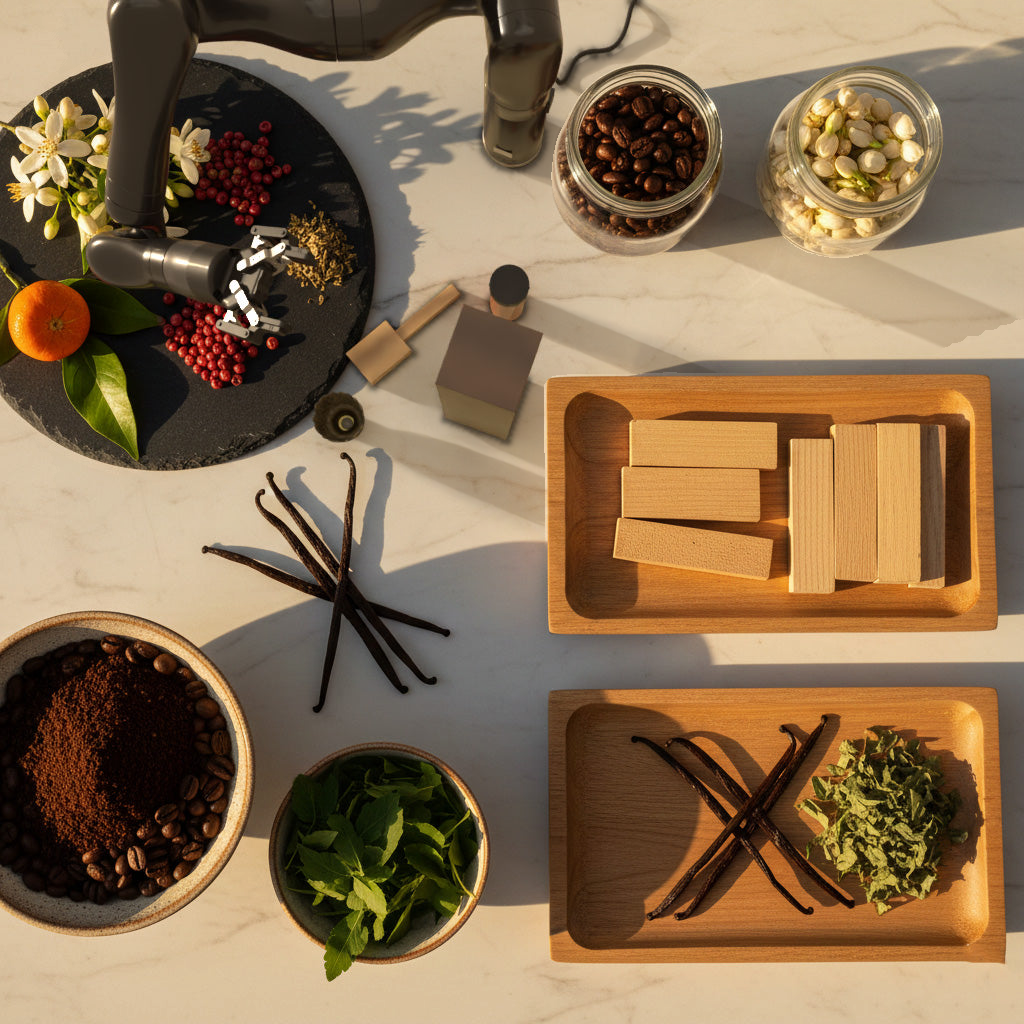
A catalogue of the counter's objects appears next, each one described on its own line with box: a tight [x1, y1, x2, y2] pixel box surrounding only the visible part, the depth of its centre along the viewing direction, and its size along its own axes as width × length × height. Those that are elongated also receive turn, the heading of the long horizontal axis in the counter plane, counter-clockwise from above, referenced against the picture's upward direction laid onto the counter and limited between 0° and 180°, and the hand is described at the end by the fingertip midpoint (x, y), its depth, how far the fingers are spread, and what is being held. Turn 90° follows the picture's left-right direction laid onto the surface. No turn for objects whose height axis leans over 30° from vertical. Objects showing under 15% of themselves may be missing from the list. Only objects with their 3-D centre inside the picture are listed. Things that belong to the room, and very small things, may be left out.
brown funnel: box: [312, 391, 366, 444], centre depth 120 cm, size 8×7×8 cm
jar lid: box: [488, 263, 531, 308], centre depth 115 cm, size 6×6×2 cm
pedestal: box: [434, 303, 544, 441], centre depth 109 cm, size 10×10×31 cm
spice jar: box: [489, 295, 526, 322], centre depth 120 cm, size 5×5×10 cm
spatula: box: [345, 283, 461, 386], centre depth 123 cm, size 6×20×2 cm, turn 130°
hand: (300, 293), depth 95 cm, fingers open, 8 cm apart
